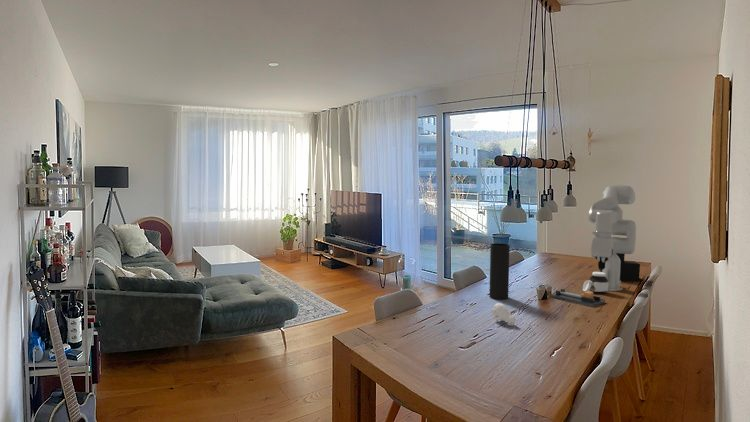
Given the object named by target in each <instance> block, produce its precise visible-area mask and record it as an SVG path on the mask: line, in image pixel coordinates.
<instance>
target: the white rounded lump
mask: <svg viewBox="0 0 750 422" xmlns="http://www.w3.org/2000/svg"><path fill="white" fill-rule="evenodd" d="M491 312H492V316H493V319H494V323H498V321H503V322H504V321H505V322H506V324H507V326H511V327H513V326H514V325H515V323H516V318H515V316H514V315H511V312H510V311H509V309H508V308H507V306H506V305H505V304H504V303H499V302H497V303H495V304H494V305H493V307H492V309H491Z"/></svg>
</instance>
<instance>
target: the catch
mask: <svg viewBox="0 0 750 422" xmlns="http://www.w3.org/2000/svg"><path fill="white" fill-rule="evenodd" d="M580 294H581V296H582V297H587V298H592V299H593V296H594V293H593V292H591V291H590V290H589V291H586V292H585V291H583V293H580Z"/></svg>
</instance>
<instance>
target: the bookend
mask: <svg viewBox="0 0 750 422" xmlns="http://www.w3.org/2000/svg"><path fill="white" fill-rule="evenodd" d="M616 254H617V256H618V257H619V258H620V261H621V265H620V281H627V282H630V281H631V282H643V279H642V278H641V277H640V269H641V263H639V262H637V261H632V260H631V261H630V260H625V255H626V254H621V253H616ZM602 258H603V257H602ZM602 271H603V270H601V269H599V272H602Z"/></svg>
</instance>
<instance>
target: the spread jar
mask: <svg viewBox="0 0 750 422" xmlns="http://www.w3.org/2000/svg"><path fill="white" fill-rule="evenodd" d="M582 291H583V292H586V291H591V292H593V294H596V295H597V294H599V295H604V294H606V293H607V292H608V291H609V290H608V279H607V278H606V277H605V273H603V272H600V271H593V272H592V275H590V277H589V279H588V280H587V279H586V280H585V281H584V282H583V285H582Z"/></svg>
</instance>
